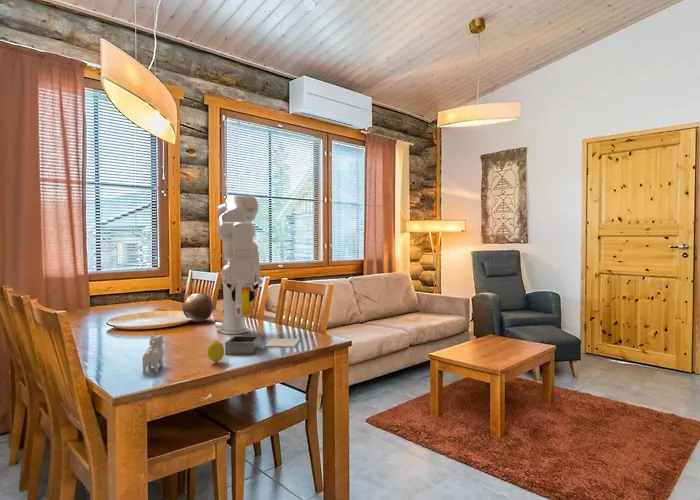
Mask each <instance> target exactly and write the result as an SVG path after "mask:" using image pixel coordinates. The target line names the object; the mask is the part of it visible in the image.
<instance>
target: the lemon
mask: <svg viewBox="0 0 700 500" xmlns="http://www.w3.org/2000/svg"><path fill="white" fill-rule="evenodd" d="M207 348H208V349H207V356H208V360H209V359H210V361H211V362H214V363H215V364H217V363H218V362H219V361H221V360H222V359H223V357H224V356H225V355H224V354H225V346H224V344H223V343H222V342H220V341H218V340H214V341H213V342H211V343H210V344H209V346H208V347H207Z"/></svg>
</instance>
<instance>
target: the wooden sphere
mask: <svg viewBox="0 0 700 500" xmlns="http://www.w3.org/2000/svg"><path fill="white" fill-rule="evenodd" d="M182 311H183V314H184V317H186V319H187V318H191V319H193V320H192V321H191V322H193V323H201V322H205V321H206V320H208V319H209V318H210V317H211V315H212V314H213V311H214V304H213V300H212V298H211V297H210V296H208V295H207V294H205V293H201V292H197V293H192V294H191V295H188V296H187V298H186V299H185V300H184V302H183V304H182Z"/></svg>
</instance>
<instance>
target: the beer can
mask: <svg viewBox="0 0 700 500" xmlns="http://www.w3.org/2000/svg"><path fill="white" fill-rule="evenodd" d="M250 290H251V289H250V287H249V284H244V281H243V280H240V281H238V284H235V315H236V316H237V317H245V318H249V317H251V315H252V302H250V296H249V292H250Z"/></svg>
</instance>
